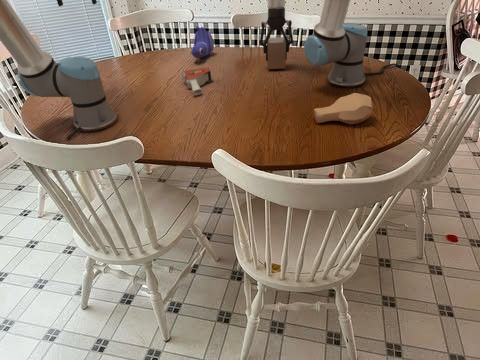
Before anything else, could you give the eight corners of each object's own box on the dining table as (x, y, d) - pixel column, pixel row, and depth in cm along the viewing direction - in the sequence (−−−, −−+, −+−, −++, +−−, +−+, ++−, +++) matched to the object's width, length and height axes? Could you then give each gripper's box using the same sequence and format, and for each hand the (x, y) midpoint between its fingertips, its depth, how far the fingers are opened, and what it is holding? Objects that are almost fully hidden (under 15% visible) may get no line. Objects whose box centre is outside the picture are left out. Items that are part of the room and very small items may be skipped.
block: (283, 62, 174) (284, 37, 167) (285, 68, 167) (286, 42, 160) (267, 63, 174) (266, 37, 167) (268, 69, 167) (267, 43, 160)
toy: (200, 58, 202) (185, 64, 180) (197, 26, 195) (181, 28, 173) (217, 58, 200) (204, 63, 177) (214, 25, 193) (200, 26, 171)
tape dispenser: (197, 100, 148) (224, 81, 161) (196, 88, 145) (223, 70, 157) (165, 91, 156) (193, 74, 168) (163, 80, 152) (192, 63, 165)
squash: (377, 125, 120) (379, 103, 114) (317, 135, 122) (317, 114, 116) (367, 107, 128) (369, 85, 121) (311, 116, 130) (311, 95, 123)
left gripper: (96, -63, 130) (111, 1, 143) (30, -59, 131) (51, 4, 144) (89, -62, 124) (106, 4, 137) (19, -58, 125) (42, 8, 138)
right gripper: (299, 4, 158) (297, 56, 171) (252, 7, 159) (253, 58, 172) (301, 7, 152) (299, 60, 165) (252, 10, 153) (254, 63, 166)
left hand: (78, 4), depth 140 cm, fingers open, 13 cm apart
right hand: (276, 59), depth 169 cm, fingers closed on block, 8 cm apart
